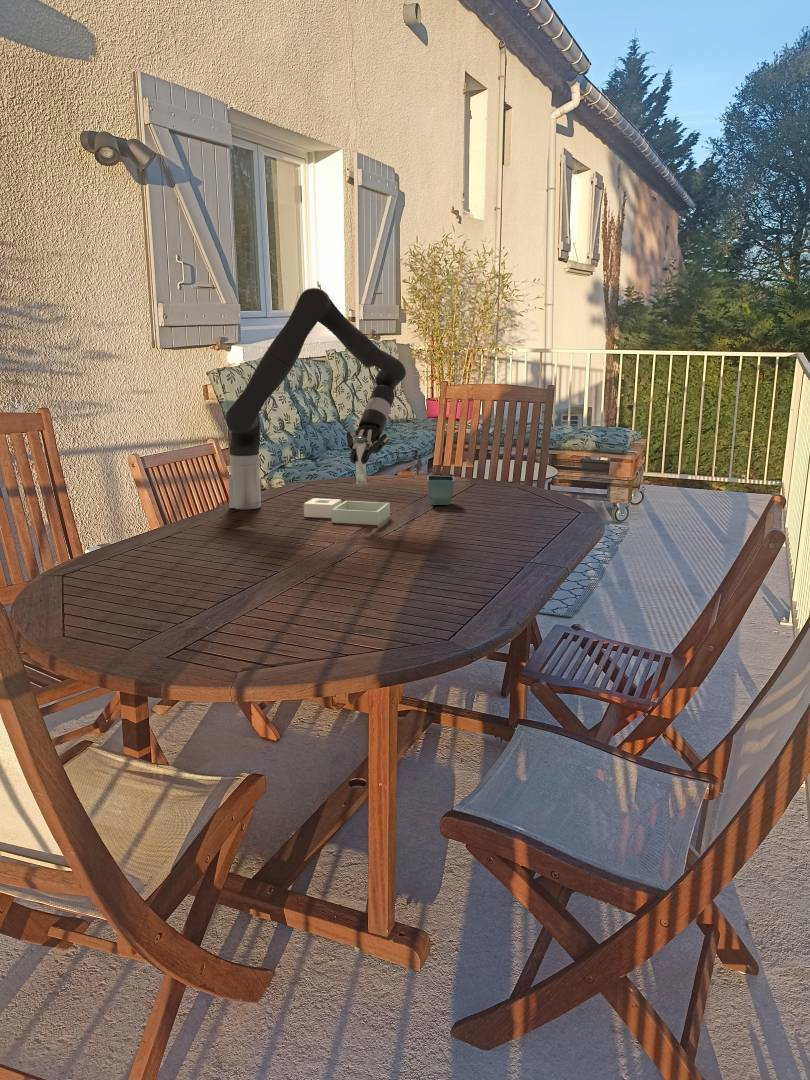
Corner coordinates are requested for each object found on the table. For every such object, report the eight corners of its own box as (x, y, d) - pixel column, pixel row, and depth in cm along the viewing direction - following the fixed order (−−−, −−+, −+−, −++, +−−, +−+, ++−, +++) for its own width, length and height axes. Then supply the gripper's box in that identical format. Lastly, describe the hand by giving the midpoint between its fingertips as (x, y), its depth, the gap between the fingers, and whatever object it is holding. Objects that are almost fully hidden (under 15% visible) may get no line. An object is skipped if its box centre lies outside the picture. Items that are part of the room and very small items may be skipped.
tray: (331, 525, 246) (331, 509, 245) (345, 515, 259) (345, 500, 258) (378, 528, 243) (377, 511, 242) (389, 518, 256) (389, 502, 255)
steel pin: (354, 485, 247) (353, 437, 244) (357, 483, 251) (356, 436, 247) (365, 485, 247) (364, 438, 243) (368, 483, 250) (367, 436, 247)
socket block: (304, 519, 254) (303, 503, 252) (314, 513, 262) (313, 498, 261) (332, 521, 252) (332, 504, 250) (341, 515, 260) (341, 499, 259)
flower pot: (454, 507, 273) (454, 480, 271) (427, 507, 273) (427, 480, 271) (453, 502, 282) (453, 475, 280) (427, 502, 282) (427, 475, 280)
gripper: (350, 407, 253) (332, 452, 245) (392, 408, 247) (375, 455, 239) (358, 423, 259) (340, 468, 251) (400, 425, 253) (383, 471, 245)
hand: (357, 461), depth 245 cm, fingers closed on steel pin, 2 cm apart
